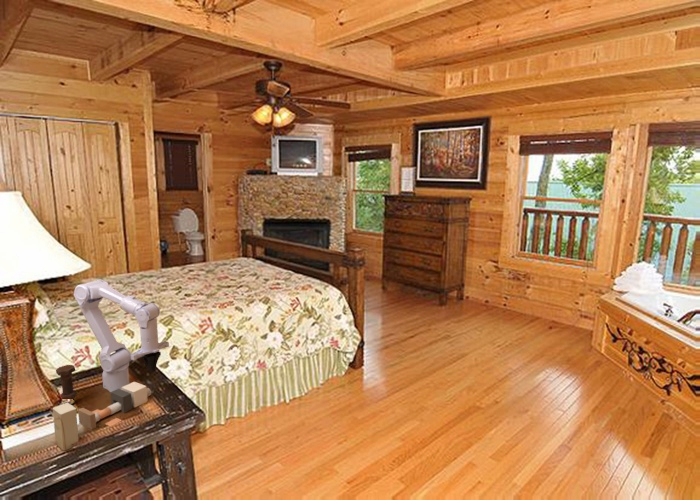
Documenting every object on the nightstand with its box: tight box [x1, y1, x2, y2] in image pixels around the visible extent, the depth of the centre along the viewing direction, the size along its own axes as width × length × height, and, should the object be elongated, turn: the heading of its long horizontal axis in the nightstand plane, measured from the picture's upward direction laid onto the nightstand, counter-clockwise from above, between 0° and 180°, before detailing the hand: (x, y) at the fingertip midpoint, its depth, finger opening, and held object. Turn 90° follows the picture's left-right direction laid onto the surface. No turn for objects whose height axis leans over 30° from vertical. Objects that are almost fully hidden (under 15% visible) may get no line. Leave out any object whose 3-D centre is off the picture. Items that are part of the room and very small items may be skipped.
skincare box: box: [52, 402, 80, 452], centre depth 126 cm, size 6×4×12 cm
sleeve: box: [121, 381, 148, 409], centre depth 149 cm, size 7×5×6 cm
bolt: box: [55, 364, 78, 401], centre depth 147 cm, size 6×5×15 cm
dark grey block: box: [109, 389, 133, 414], centre depth 145 cm, size 7×3×6 cm, turn 62°
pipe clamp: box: [77, 387, 152, 431], centre depth 144 cm, size 16×26×6 cm, turn 152°
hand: (151, 371), depth 155 cm, fingers closed
